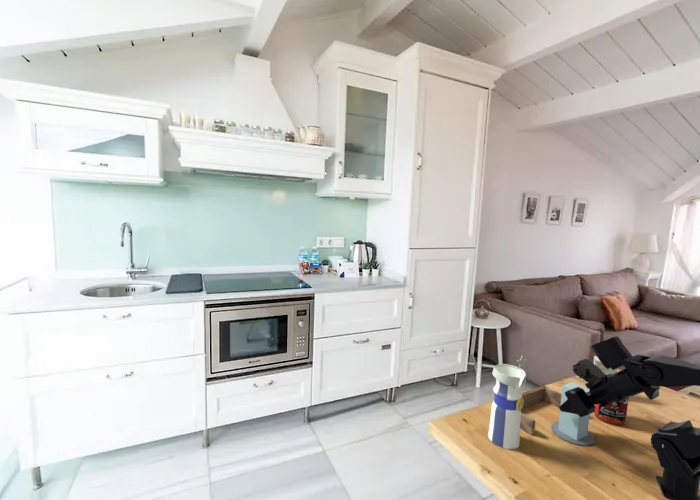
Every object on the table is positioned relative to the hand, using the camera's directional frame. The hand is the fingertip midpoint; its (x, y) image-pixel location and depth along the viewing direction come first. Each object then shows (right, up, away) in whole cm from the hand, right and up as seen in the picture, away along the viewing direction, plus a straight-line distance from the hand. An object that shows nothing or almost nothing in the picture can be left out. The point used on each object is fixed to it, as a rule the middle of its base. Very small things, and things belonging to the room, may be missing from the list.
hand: (569, 405), depth 95 cm
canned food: (+17, -8, +8) cm, 20 cm away
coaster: (0, -8, 0) cm, 8 cm away
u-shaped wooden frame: (-4, -7, +8) cm, 11 cm away
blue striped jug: (-20, -8, -3) cm, 21 cm away
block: (0, -7, 0) cm, 7 cm away
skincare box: (+25, -6, +22) cm, 34 cm away
